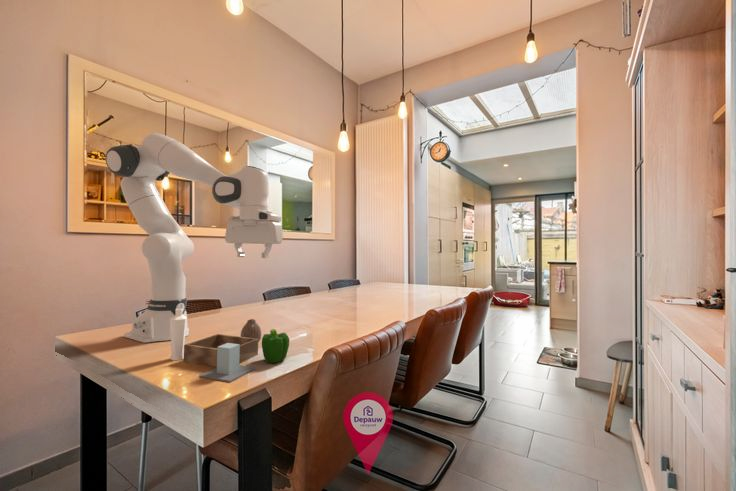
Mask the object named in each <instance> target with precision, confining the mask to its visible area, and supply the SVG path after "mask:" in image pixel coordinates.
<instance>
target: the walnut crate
mask: <svg viewBox="0 0 736 491" xmlns="http://www.w3.org/2000/svg"><path fill="white" fill-rule="evenodd" d="M226 343H233V344H240V355H239V364H242V363H244V362H246V361H248V360H249V359H251V358H254V357H256V356H258V354H259V342H258V339H254V338H246V337H241V336H237V335H229V334H220V333H216V334H213V335H210V336H208V337H204V338H201V339H198V340H195V341H191V342H189V343H186V344H185V343H184V351H183V353H184V359H183V362H184V363H189V364H195V365H201V366H207V367H212V368H213V367H214V368H216V367H217V347H218V346H221V345H224V344H226Z"/></svg>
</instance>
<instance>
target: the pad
mask: <svg viewBox="0 0 736 491" xmlns="http://www.w3.org/2000/svg"><path fill="white" fill-rule="evenodd" d="M255 370H256V367H254V366H247V365H243V364H239V370H237V371H235V372H233V373H231V374H229V375H227V374H221V373H217V367H214V368H212V369H210V370H207V371H206V372H204V373H202V374H199V375H198V377H199V378H204V379H208V380H215V381H221V382H226V383H233V382H234V381H235V380H238V379H239V378H241V377H243V376H244V375H247V374H249V373H251V372H252V371H255Z"/></svg>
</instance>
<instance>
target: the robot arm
mask: <svg viewBox="0 0 736 491" xmlns="http://www.w3.org/2000/svg"><path fill="white" fill-rule="evenodd" d="M105 163H106V167H107V168H108V169H109V171H110V172H111V173H112V174H113V175H116V176H120V177H123V178H122V179H121V180H120V184H119V185H120V188H121V192H122V195H123V197H124V200H125V202H126V204H127V206H128V208H129V210H130V212H131V213H132V215H133V218H134V219H135V221H136V222H137V224H138V226H139V227H140V228H141V229H142V230H143V231H145V232H146V233H147V235H148V236H147V237H146V238H145V239H144V240H143V242H142V244H141V252H142V254H143V256H144V257H145V258H146V260H147V264H148V268H149V271H150V275H151V278H150V279H151V294H150V295H151V297H150V298H151V299H150V300H146V301H145V302H146V303H145V305H147V308H146V310H145V311H143V312H142V313H141V314H140V315H139V316H137V317H135V318H134V320H133V321H132V326H131V331H128V332H126V333H124V334H123V337H124V338H127V339H130V340H134V341H136V342H140V343H143V344H144V343H151V342H163V341H171V330H170V318H172V317H174V316H175V313H176V310H175V309H183V313H182V315H183V316H186V317H187V318H188V312H187V310H186V308H187V303H188V301H187V300H188V299H187V297H186V290H187V288H186V287H187V278H186V275H185V273H184V270H183V264H182V261H185V260H187V259H189V258H190V257H191V256H192V255H194V254H193V253H194V251H195V244H194V242H193V241H192V239H191V238H190V237H188V236H187V234H186V232H185V231H184V230H183V228H182V227H181V226H180V225H179V224H178V222H177V221H176V219H174V217H173V215H172V213H171V212H170V211H169V208H168V207H167V205H166V203H165V202H164V200H163V198H162V196H161V194H160V193H159V192H160V191H158V189H157V187H156V181H157V182H158V181H159V182H160V181H161V182H162V181H163V180H164V179H165V178H166V177H167V176H168V175H170V174H171V175H174V176H176V177H179V178H182V179H186V180H190V181H194V182H198V183H203V184H205V185H208V186H210V187H212V188H211V193H212V197H213V199H214V200H215V201H216V202H217V203H219V204H221V205H224V206H227V207H228V206H229V207H233V208H236V209H239V215H236V216H234V215H233V216H232V215H231V216H230V217H229V218H228V219H227V225H226V228H225V229H226V230H225V235H224V240H225V242H226V243H227V244H234V249H235V250H236V252H237V253H236V254H237V256H236V257H237V258H244V257H245V251H243V249H242V247H243V244H246V245H247V244H251V245H252V244H259V245H260V244H261V245H264V248H265V249H264V251H263V252H261V258H262V259H268V258H269V253H270V251H271V250H272V249H273V245H281V243H282V242H283V237H284V236H283V235H284V234H283V233H284V232H283V225H282V223H281V222H282V216H281V215H279V214H276V213H274V212H272V211H269V205H268V204H269V203H268V198H269V189H270V188H269V187H270V186H269V177H268V173H267V172H266V171H265V170H263V169H261V168H259V167H255V166H251V165H245V166H242V167H241V169H240V170H239V171H236V172H234V173H232V174H229V175H227V174H225V173H224V172H222V171H220V170H218V169H217V168H216V167H214V166H213V165H212V164H210V163H209V162H208V161H206V160H205V159H204V158H202V157H201V156H199V154H197V152H195V151H193V150H192V149H191V148H189V147H188V146H186V145H185V144H183V143H182V142H180V141H178V140H177V139H175V138H172V137H170V136H168V135H165V134H163V133H160V132H159V133H158V132H153V133H149V134H147V135H146V136H145V137H144V139H142V143H141V144H140V145H132V144H129V143H128V144H121V145H114V146H112V147H110V148H109V149H107V152H106V154H105ZM189 332H190V328H189V326H188V322H187V323H186V332H185V337H187V336H189V335H190V333H189Z"/></svg>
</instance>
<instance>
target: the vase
mask: <svg viewBox="0 0 736 491" xmlns="http://www.w3.org/2000/svg"><path fill="white" fill-rule="evenodd" d="M240 337H246V338H254V339H258V343H259V342H260V340H262V329H261V326H260V325H259V324H258V323H257V321H256V319H253V318H251V319H249V318H248V319H247V321H246V323H245V324H244V325H243V327H242V328H241V331H240Z"/></svg>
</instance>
